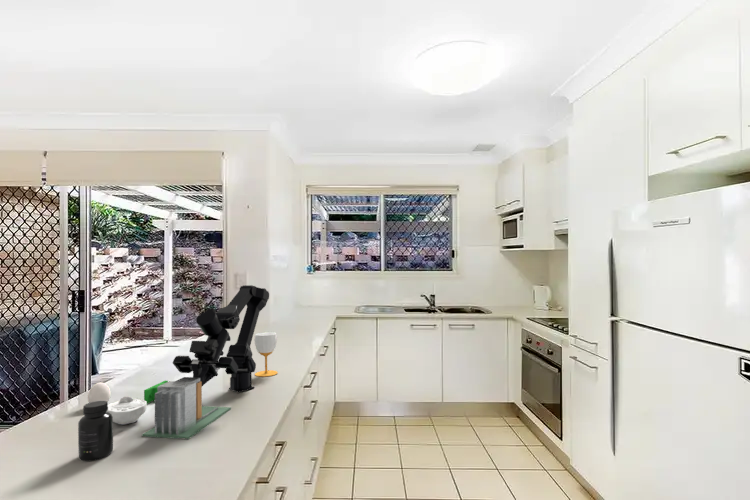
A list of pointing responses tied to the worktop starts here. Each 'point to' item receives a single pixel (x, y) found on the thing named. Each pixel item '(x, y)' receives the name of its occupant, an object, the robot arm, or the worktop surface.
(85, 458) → the supplement bottle
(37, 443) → the worktop surface
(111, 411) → the cell model
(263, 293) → the robot arm
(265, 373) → the cup
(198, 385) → the orange block
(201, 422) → the board
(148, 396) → the pipe clamp
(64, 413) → the worktop surface
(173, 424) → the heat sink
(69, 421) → the worktop surface
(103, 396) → the egg
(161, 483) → the worktop surface
